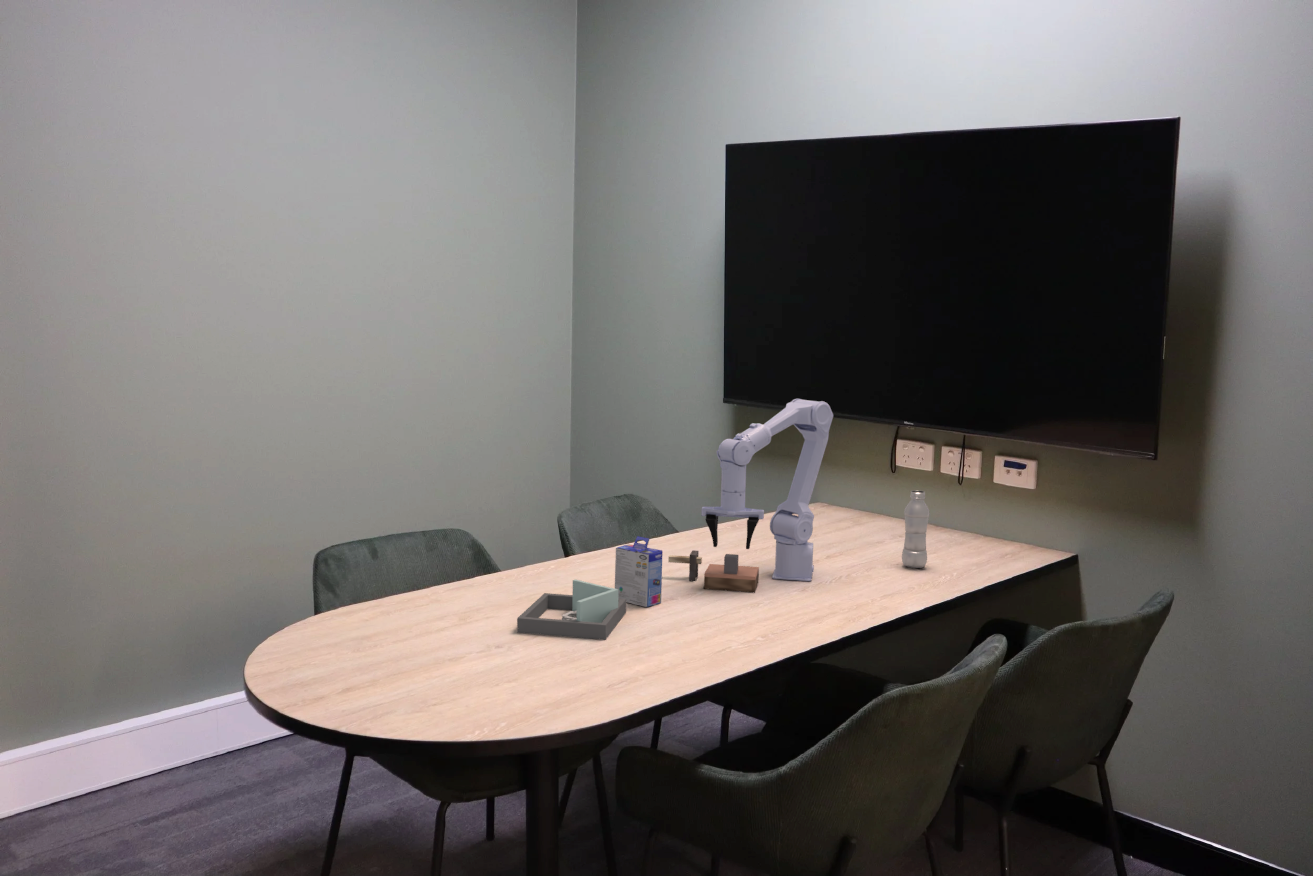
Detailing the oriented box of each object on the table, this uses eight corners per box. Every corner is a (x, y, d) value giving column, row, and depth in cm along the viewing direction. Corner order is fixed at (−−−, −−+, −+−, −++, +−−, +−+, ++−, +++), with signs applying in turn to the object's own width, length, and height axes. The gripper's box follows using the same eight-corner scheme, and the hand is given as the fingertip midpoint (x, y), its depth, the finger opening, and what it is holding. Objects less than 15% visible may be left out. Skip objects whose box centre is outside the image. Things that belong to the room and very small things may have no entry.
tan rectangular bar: (701, 562, 244) (701, 557, 244) (700, 564, 243) (701, 558, 243) (669, 560, 246) (669, 555, 246) (668, 562, 244) (668, 556, 244)
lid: (758, 573, 242) (759, 551, 241) (755, 583, 233) (755, 560, 233) (709, 570, 244) (710, 547, 244) (704, 580, 236) (704, 556, 235)
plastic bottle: (924, 564, 262) (928, 489, 260) (928, 571, 255) (933, 494, 253) (899, 563, 263) (903, 488, 260) (903, 570, 256) (907, 493, 253)
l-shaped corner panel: (575, 613, 218) (575, 579, 217) (617, 624, 210) (618, 589, 209) (536, 626, 208) (536, 591, 207) (580, 638, 201) (580, 602, 200)
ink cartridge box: (663, 603, 224) (664, 539, 223) (647, 608, 220) (649, 544, 218) (628, 594, 230) (629, 533, 228) (613, 600, 226) (614, 537, 224)
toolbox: (758, 581, 244) (759, 554, 243) (754, 592, 234) (755, 565, 233) (691, 576, 247) (692, 550, 246) (685, 587, 237) (685, 560, 236)
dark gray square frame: (626, 612, 217) (626, 599, 216) (605, 639, 199) (605, 625, 198) (544, 606, 220) (544, 593, 220) (517, 632, 202) (517, 618, 202)
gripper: (700, 491, 232) (698, 549, 233) (762, 495, 229) (760, 553, 231) (704, 486, 238) (703, 542, 240) (765, 489, 236) (763, 546, 237)
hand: (731, 547), depth 236 cm, fingers open, 7 cm apart
